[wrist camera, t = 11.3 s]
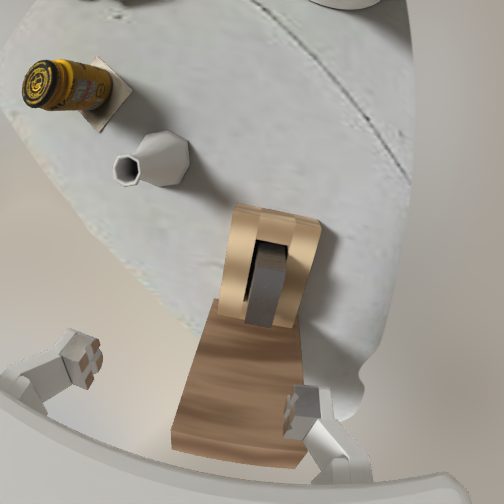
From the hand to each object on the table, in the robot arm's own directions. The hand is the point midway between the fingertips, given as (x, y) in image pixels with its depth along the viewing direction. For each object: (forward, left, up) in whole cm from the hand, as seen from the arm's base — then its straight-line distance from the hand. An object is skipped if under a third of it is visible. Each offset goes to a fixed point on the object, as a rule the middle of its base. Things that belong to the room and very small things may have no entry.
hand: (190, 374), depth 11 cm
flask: (-4, -11, -28) cm, 30 cm away
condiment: (-12, -22, -28) cm, 37 cm away
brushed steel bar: (+7, +4, -27) cm, 28 cm away
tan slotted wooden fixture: (+9, +4, -27) cm, 29 cm away
